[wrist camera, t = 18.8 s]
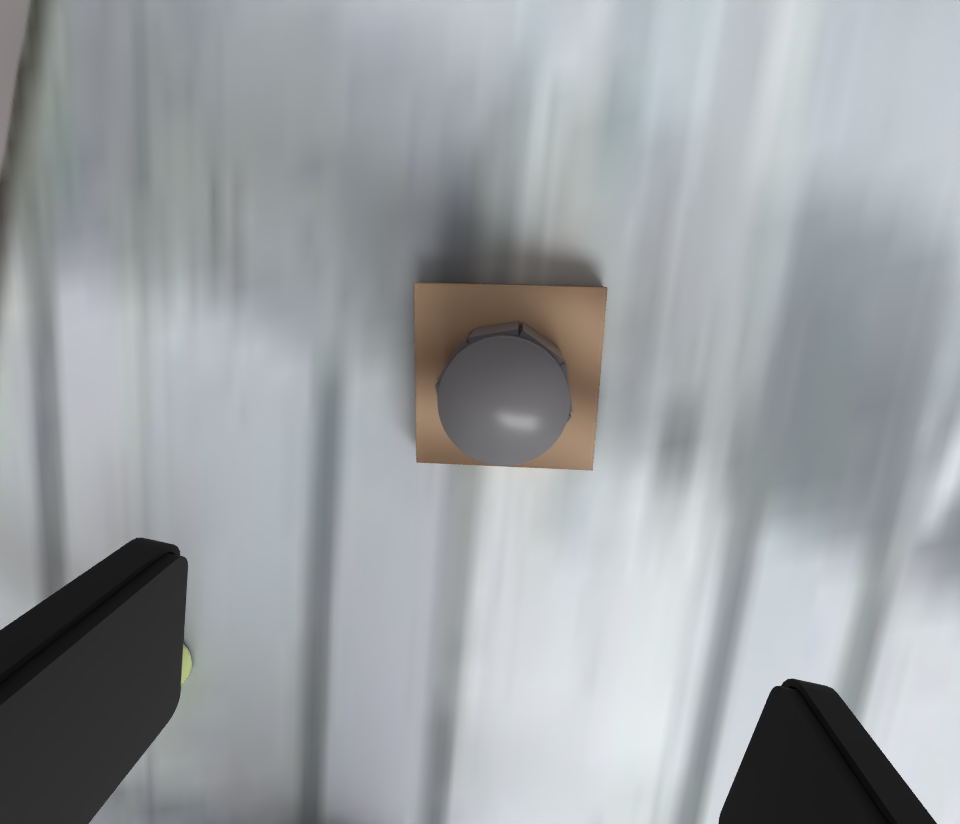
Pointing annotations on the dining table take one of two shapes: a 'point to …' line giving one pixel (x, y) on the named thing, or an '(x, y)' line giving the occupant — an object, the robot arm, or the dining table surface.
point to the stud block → (546, 308)
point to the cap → (504, 394)
